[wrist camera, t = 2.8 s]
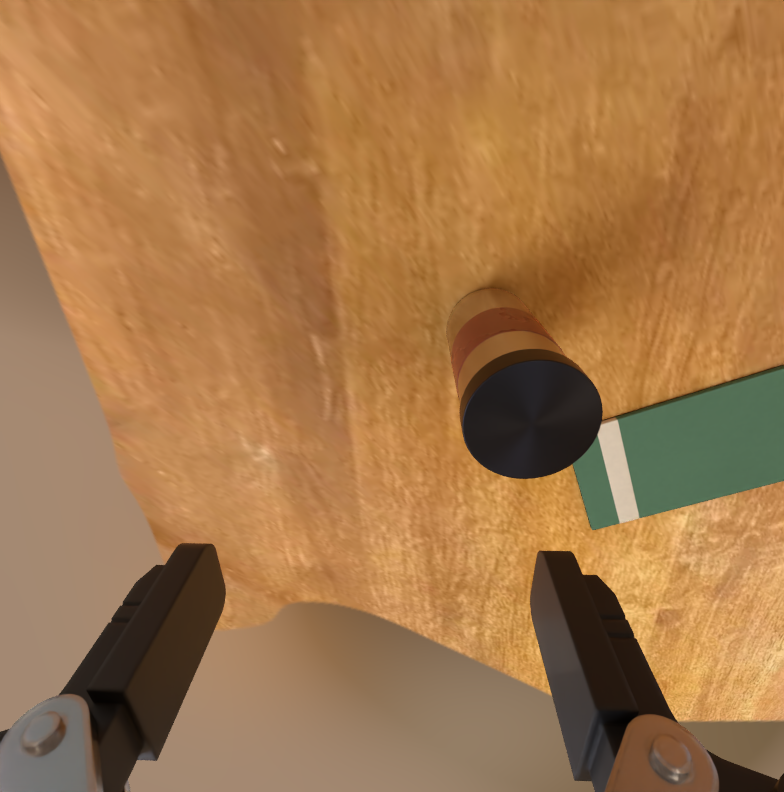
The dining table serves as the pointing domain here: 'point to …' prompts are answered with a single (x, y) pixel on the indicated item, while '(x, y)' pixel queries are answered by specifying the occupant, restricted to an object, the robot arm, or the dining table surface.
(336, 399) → the dining table surface
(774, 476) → the towel
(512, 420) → the jar
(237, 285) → the dining table surface
